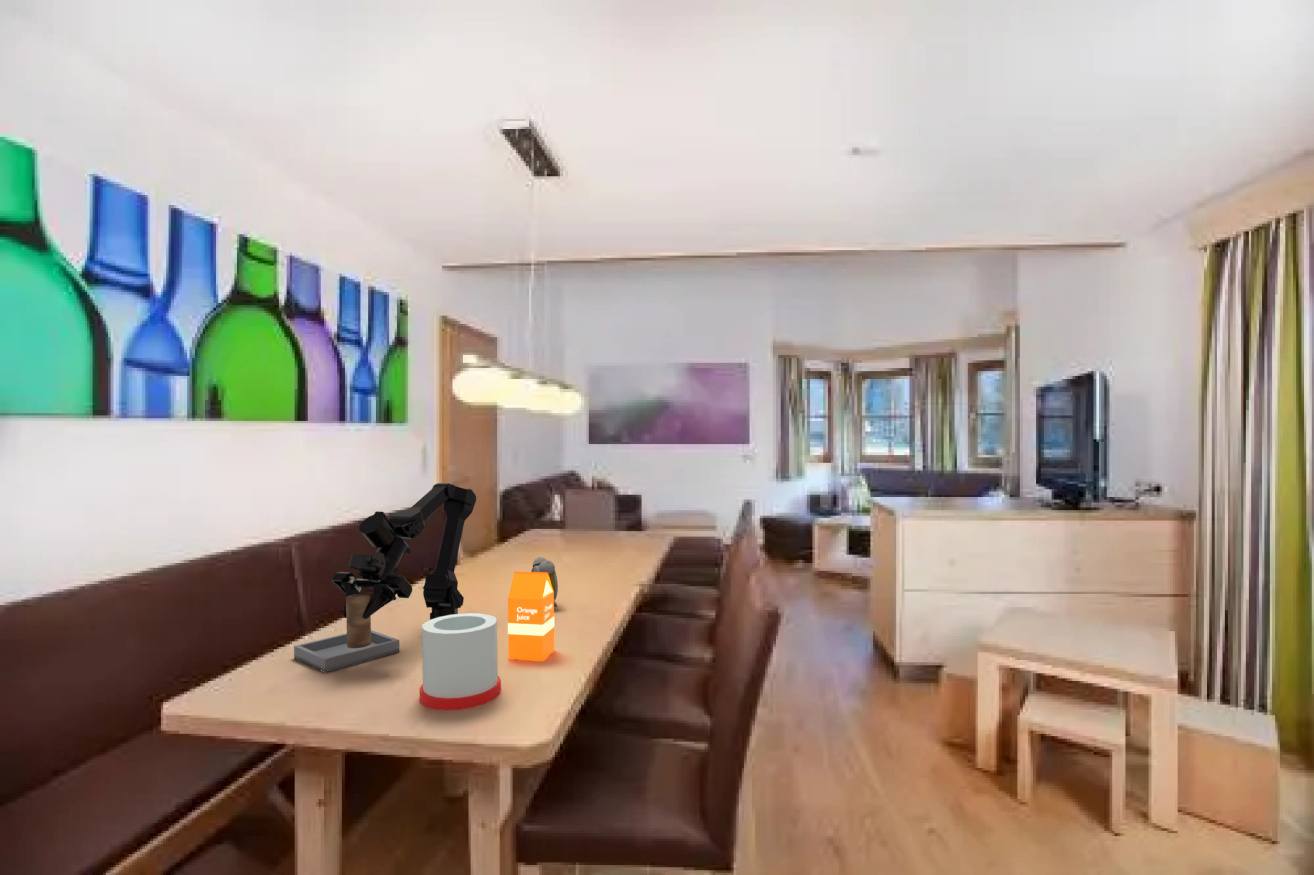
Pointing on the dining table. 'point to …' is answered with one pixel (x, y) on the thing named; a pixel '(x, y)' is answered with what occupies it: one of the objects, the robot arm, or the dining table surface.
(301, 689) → the dining table surface
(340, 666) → the tray
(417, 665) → the dining table surface
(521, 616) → the orange juice
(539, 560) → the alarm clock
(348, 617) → the brown upright cylinder
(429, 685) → the container
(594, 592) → the dining table surface
